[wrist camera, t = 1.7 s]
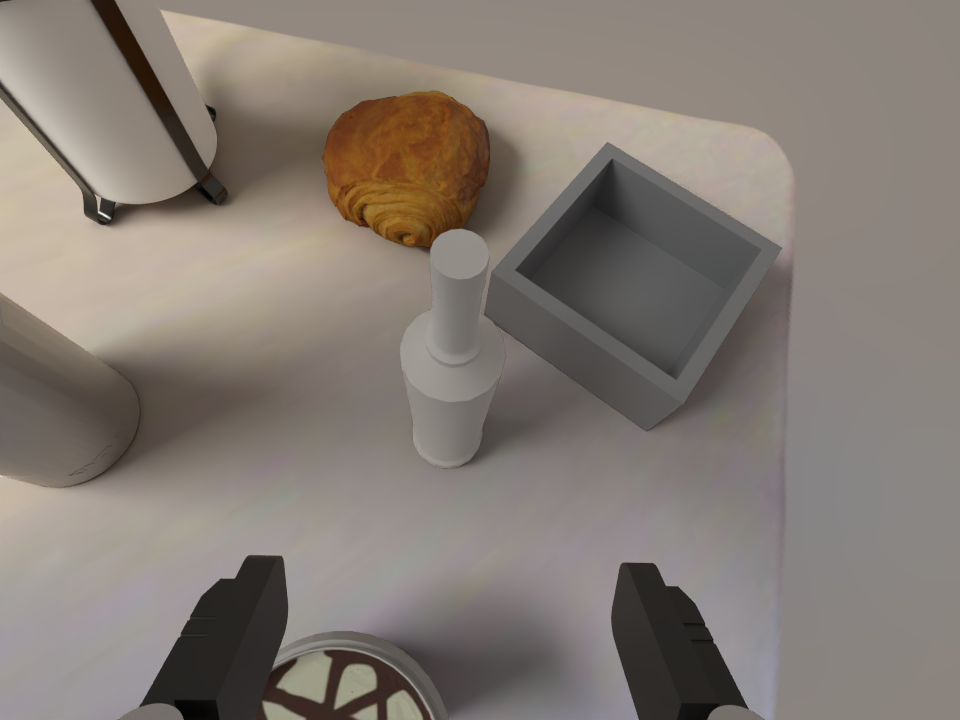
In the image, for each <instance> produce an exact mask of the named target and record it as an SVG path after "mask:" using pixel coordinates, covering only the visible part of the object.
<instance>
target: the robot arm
mask: <svg viewBox="0 0 960 720" xmlns="http://www.w3.org/2000/svg"><path fill="white" fill-rule="evenodd" d="M139 416H140V409H139V400H138V397H137V395H136V392H135V390H134V388H133V387H132V385H131V384H130V383H129V381H128V380H127V379H126V378H124V377H123V376H122V375H121V374H120V373H118V372H117V371H115V370H114V369H112V368H111V367H109V366H108V365H106V364H105V363H103V362H102V361H100V360H99V359H97V358H96V357H95V356H93V355H92V354H91V353H89V352H88V351H86V350H85V349H83V348H82V347H80V346H79V345H77V344H76V343H74V342H73V341H71V340H70V339H68V338H67V337H65V336H64V335H62V334H61V333H59V332H58V331H56V330H55V329H53V328H52V327H51V326H49V325H48V324H46V323H45V322H43V321H42V320H40V319H39V318H37V317H36V316H34V315H33V314H31V313H30V312H28V311H27V310H25V309H24V308H22V307H21V306H19V305H18V304H16V303H15V302H13V301H12V300H11V299H9V298H8V297H6V296H5V295H3V294H2V293H0V476H3V477H7V478H11V479H15V480H19V481H23V482H27V483H31V484H35V485H39V486H43V487H59V488H60V487H66V486H72V485H76V484H79V483H82V482H85V481H88V480H90V479H92V478H94V477H95V476H97V475H99V474H101V473H103V472H104V471H105V470H107V469H108V468H109V467H110V466H112V465H113V464H114V463H115V462H116V461H117V460H118V459H119V458H120V457H121V456H122V454H123V453H124V452H125V451H126V450H127V448H128V446H129V445H130V443H131V441H132V440H133V438H134V435H135V433H136V430H137V427H138V423H139ZM287 618H288V598H287V588H286V578H285V568H284V560H283V557H282V556H265V555H249V556H247V557H246V558H245V560H244V562H243V564H242V566H241V568H240V570H239V572H238V574H237V576H236V578H235V579H220V580H219V581H218V582H217V583H215V584H214V585H213V586H212V587H211V588H210V589H209V590H208V591H207V592H206V593H204V594H203V595H202V596H201V598H200V600H199V602H198V603H197V605H196V607H195V609H194V611H193V612H192V614H191V616H190V620H189V621H187V623H186V625H185V627H184V629H183V630H182V632H181V636H180V638H178V639H177V641H176V643H175V645H174V646H173V648H172V650H171V652H170V654H169V655H168V657H167V659H166V661H165V662H164V664H163V666H162V668H161V670H160V671H159V673H158V675H157V677H156V679H155V680H154V682H153V684H152V686H151V688H150V689H149V691H148V693H147V695H146V696H145V698H144V700H143V702H142V703H141V705H140V706H139V708H137V709H135V710H132V711H131V712H129V713H127V714H125V715H124V716H122V717H121V718H120V719H118V720H254V719H255V716H256V713H257V710H258V707H259V705H260V702H261V699H262V696H263V693H264V690H265V688H266V685H267V682H268V679H269V676H270V673H271V670H272V668H273V665H274V662H275V659H276V656H277V653H278V650H279V648H280V645H281V642H282V639H283V636H284V633H285V629H286V624H287ZM611 622H612V631H613V637H614V640H615V644H616V647H617V650H618V653H619V657H620V660H621V663H622V666H623V670H624V673H625V676H626V679H627V683H628V686H629V689H630V692H631V695H632V699H633V702H634V705H635V708H636V712H637V715H638V718H639V720H765V719H763V718H762V717H761V716H759V715H758V714H756V713H754V712H753V711H751V710H749V708H748V707H747V705H746V703H745V701H744V699H743V697H742V695H741V693H740V691H739V689H738V687H737V685H736V683H735V681H734V679H733V677H732V675H731V674H730V672H729V670H728V668H727V666H726V664H725V662H724V660H723V658H722V656H721V654H720V652H719V650H718V648H717V646H716V644H714V642H713V638H712V636H711V634H710V632H709V630H708V628H707V627H705V622H704V620H703V618H702V616H701V614H700V612H699V610H698V608H697V606H696V604H695V603H694V602H693V601H692V600H691V599H690V598H689V597H688V596H687V595H686V594H685V593H684V592H683V591H682V590H681V589H680V588H679V587H678V586H666V585H665V583H664V581H663V579H662V577H661V575H660V572H659V570H658V568H657V566H656V565H655V564H654V563H622V564H621V566H620V569H619V574H618V580H617V585H616V590H615V596H614V601H613V606H612V614H611Z"/></svg>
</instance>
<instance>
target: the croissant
mask: <svg viewBox="0 0 960 720" xmlns="http://www.w3.org/2000/svg"><path fill="white" fill-rule="evenodd" d="M322 160H323V161H324V164H325V166H326V167H325V174H326V176H327V178H328V191H329V195H330V198H331V200H332V202H333V203H334V205H335V207H337V208H338V210H339V211H340V213H341V214H342V216H343V218H344V219H345V220H346V221H347V220H349V221H352V222H354V223H355V224H357V225H358V226H359V227H360V226H364V227H369V226H370V227H371V229H372V230H373V231H375V232H376V233H377V234H379V235H381V236H383V237H384V238H385V239H388V240H390V241H393V242H396V243H400V244H404V245H407V246H410V247H412V246H425V247H432V244H433V241H434V240H435V239H436V238H437V237H438V236H439V235H440V234H442V233H444V232H447V231H449V230H454V229H461V228H462V227H463V226H464V224H465V223H466V222H467V220H468V219H469V217H470V215H471V213H472V210H473V208H474V206H475V204H476V203H477V197H478V194H479V191H480V187H483V186H484V184H485V182H486V179H487V175H488V168H489V160H490V144H489V135H488V130H487V128H486V125H485V123H484V121H483V120H481V119H480V118H478V117H477V116H475V115H474V114H473V112H472V111H471V110H470V109H469V108H468V107H467V106H465V105H463V104H460V103H459V102H457V101H456V100H455V99H454V98H453V97H449V96H448V95H446V94H444V93H441V92H438V91H430V92H414V93H411V94H406V95H402V96H399V97H397V96H393V97H387V98H382V99H377V100H367V101H362V102H361V103H359V104H358V105H356V106H355V107H353V108H352V109H350V110H349V111H347V112H345V113H343V114H342V115H341V116H340V117H339V119H338V120H337V121H336V122H335V124H334V126H333V127H332V129H331V130H330V132H329V134H328V137H327V142H326V146H325V152H324V154H323V156H322Z"/></svg>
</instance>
